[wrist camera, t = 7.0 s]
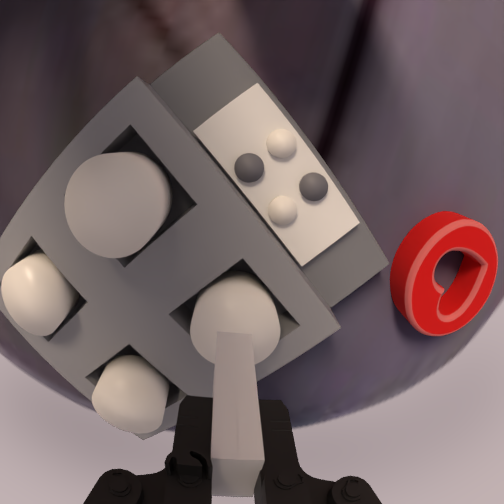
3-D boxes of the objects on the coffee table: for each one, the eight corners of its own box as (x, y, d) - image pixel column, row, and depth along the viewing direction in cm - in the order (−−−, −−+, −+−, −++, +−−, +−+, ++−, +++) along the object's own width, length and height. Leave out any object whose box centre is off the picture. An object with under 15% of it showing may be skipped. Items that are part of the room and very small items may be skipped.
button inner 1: (15, 276, 18) (-8, 293, 15) (45, 234, 17) (20, 249, 14) (57, 324, 19) (38, 347, 16) (92, 289, 18) (72, 311, 16)
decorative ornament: (489, 262, 23) (510, 274, 20) (422, 337, 25) (439, 356, 22) (446, 185, 20) (472, 192, 17) (365, 275, 22) (383, 293, 19)
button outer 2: (180, 301, 19) (171, 327, 16) (241, 254, 18) (242, 275, 15) (230, 351, 20) (229, 380, 17) (289, 311, 20) (297, 338, 17)
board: (9, 258, 20) (-23, 279, 16) (220, 42, 17) (216, 16, 12) (152, 403, 25) (143, 440, 21) (377, 253, 22) (406, 278, 17)
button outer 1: (93, 372, 19) (79, 399, 17) (132, 343, 19) (119, 372, 16) (140, 411, 21) (132, 440, 18) (183, 388, 20) (178, 419, 17)
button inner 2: (75, 193, 15) (48, 203, 13) (133, 132, 15) (112, 130, 12) (128, 256, 17) (109, 277, 14) (190, 201, 16) (181, 213, 13)
